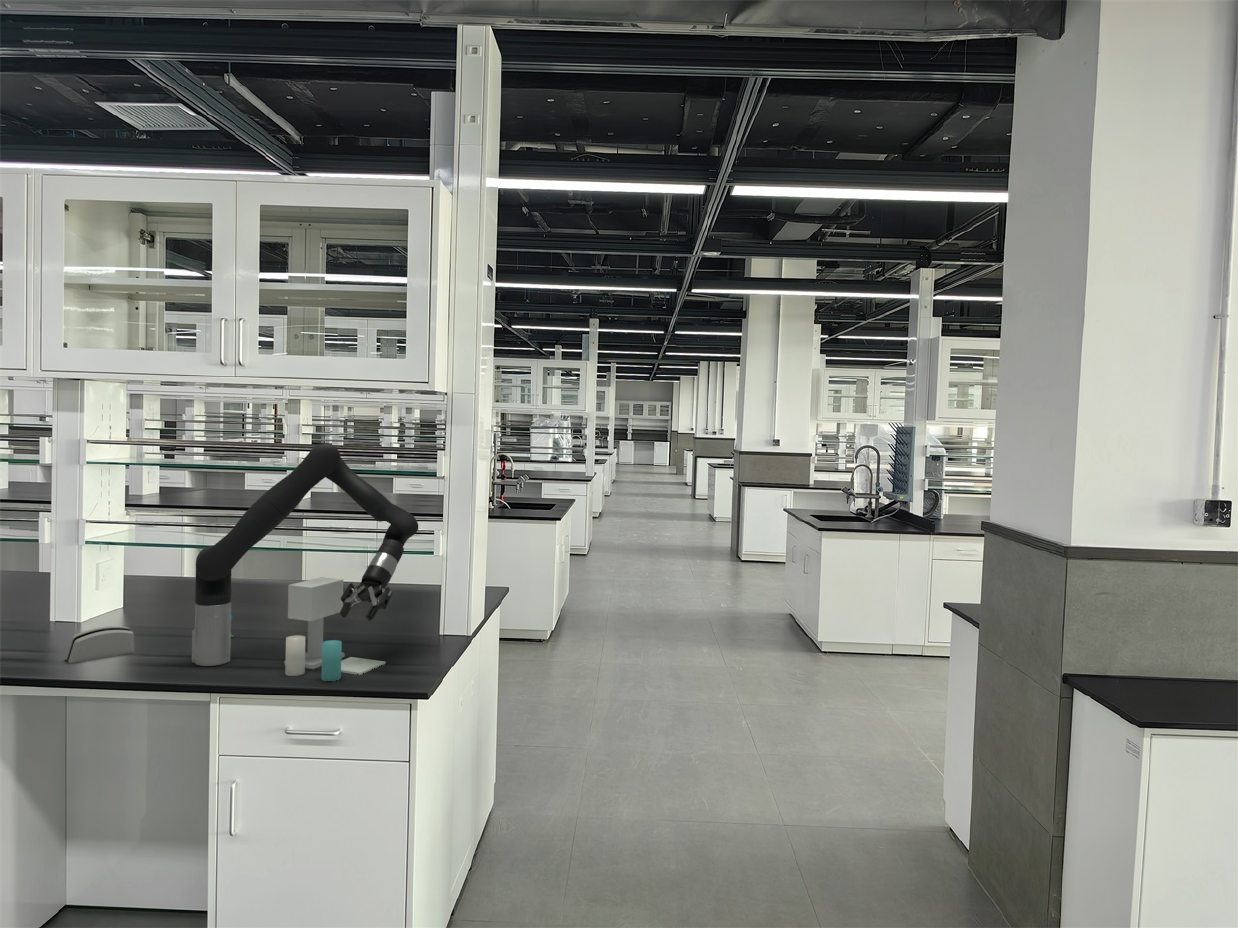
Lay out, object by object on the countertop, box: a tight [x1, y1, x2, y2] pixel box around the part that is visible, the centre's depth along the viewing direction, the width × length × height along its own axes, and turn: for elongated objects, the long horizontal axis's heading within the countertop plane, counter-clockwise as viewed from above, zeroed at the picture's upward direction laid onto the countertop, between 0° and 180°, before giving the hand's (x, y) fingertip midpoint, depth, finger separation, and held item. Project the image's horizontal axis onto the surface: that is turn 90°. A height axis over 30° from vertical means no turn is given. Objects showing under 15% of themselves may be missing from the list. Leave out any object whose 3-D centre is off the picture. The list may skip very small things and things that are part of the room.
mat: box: [341, 656, 387, 676], centre depth 234 cm, size 12×12×1 cm
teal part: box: [321, 639, 343, 682], centre depth 222 cm, size 5×5×10 cm
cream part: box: [284, 634, 306, 677], centre depth 226 cm, size 5×5×10 cm
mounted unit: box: [283, 576, 346, 670], centre depth 238 cm, size 10×15×23 cm
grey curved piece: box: [65, 625, 135, 664], centre depth 235 cm, size 17×5×10 cm, turn 140°
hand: (355, 617), depth 231 cm, fingers open, 8 cm apart
